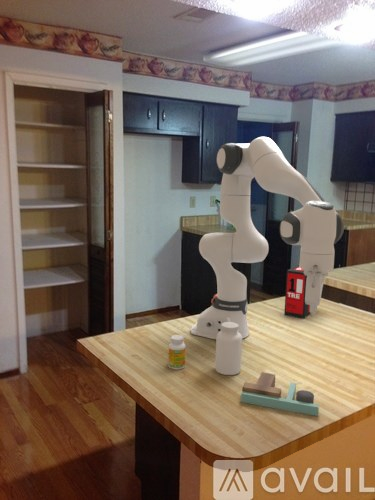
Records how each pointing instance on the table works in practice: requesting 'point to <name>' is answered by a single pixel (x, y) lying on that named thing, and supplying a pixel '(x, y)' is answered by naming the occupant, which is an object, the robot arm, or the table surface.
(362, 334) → the table surface
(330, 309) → the table surface
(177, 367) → the supplement bottle
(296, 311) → the cleaning product box
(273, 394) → the t block
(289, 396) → the rail
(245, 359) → the table surface
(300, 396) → the grey rounded lump
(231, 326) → the pill bottle
